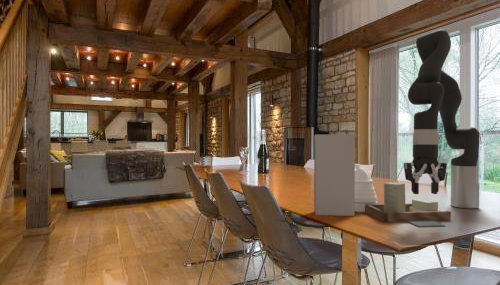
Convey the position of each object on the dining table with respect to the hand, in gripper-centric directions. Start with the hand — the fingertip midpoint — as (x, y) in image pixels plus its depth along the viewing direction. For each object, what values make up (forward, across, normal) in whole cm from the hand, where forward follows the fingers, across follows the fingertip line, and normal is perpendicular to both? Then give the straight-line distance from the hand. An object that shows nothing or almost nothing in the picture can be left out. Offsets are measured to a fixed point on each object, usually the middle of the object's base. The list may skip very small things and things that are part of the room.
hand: (424, 193), depth 108 cm
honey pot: (+10, +11, -26) cm, 30 cm away
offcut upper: (+8, -8, -12) cm, 16 cm away
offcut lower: (+11, -8, -11) cm, 17 cm away
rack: (+10, 0, -12) cm, 15 cm away
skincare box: (+10, +4, -12) cm, 16 cm away
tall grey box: (+10, +25, -17) cm, 32 cm away
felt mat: (+10, 0, 0) cm, 10 cm away
